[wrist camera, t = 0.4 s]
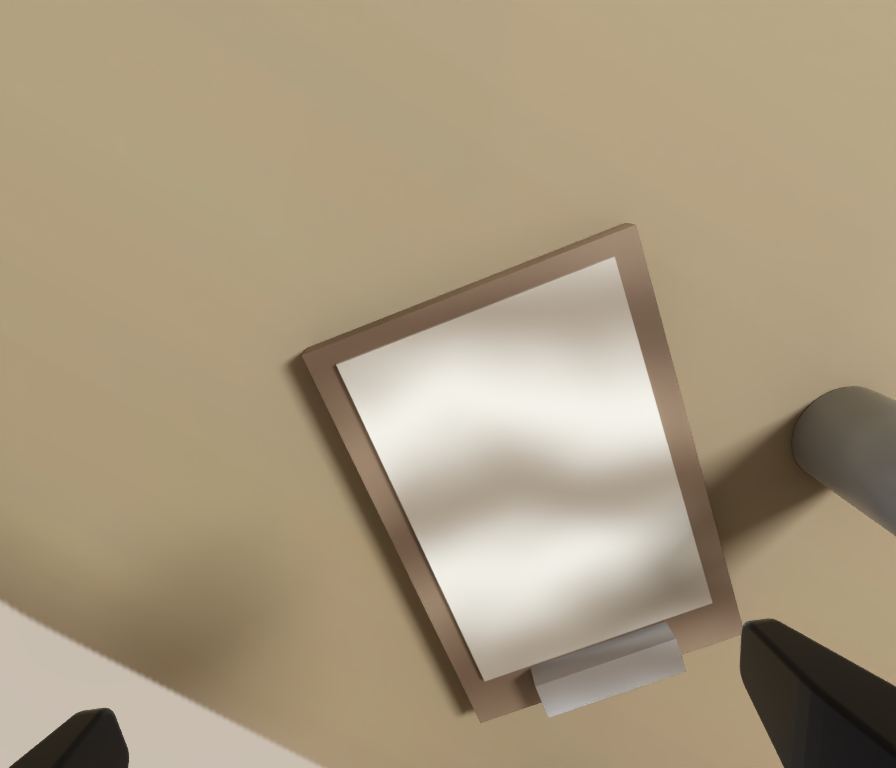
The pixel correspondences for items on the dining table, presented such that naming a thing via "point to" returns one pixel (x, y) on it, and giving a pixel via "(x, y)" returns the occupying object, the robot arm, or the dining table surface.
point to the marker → (852, 449)
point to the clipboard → (538, 476)
